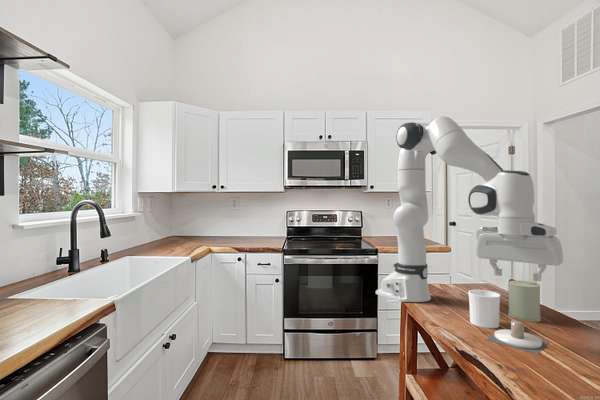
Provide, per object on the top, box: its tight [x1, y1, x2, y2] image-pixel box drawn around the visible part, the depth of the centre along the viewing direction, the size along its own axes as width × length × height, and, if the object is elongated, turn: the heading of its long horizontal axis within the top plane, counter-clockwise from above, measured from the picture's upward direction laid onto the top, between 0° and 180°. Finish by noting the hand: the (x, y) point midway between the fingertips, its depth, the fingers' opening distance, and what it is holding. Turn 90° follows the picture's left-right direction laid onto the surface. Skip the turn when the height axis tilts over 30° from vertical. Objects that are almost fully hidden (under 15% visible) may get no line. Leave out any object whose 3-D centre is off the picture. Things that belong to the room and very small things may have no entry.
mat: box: [485, 328, 550, 355], centre depth 91 cm, size 12×12×1 cm
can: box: [507, 280, 542, 323], centre depth 112 cm, size 9×9×12 cm
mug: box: [467, 289, 501, 329], centre depth 106 cm, size 11×9×10 cm
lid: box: [494, 319, 542, 349], centre depth 91 cm, size 11×11×5 cm
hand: (517, 277), depth 91 cm, fingers open, 8 cm apart
